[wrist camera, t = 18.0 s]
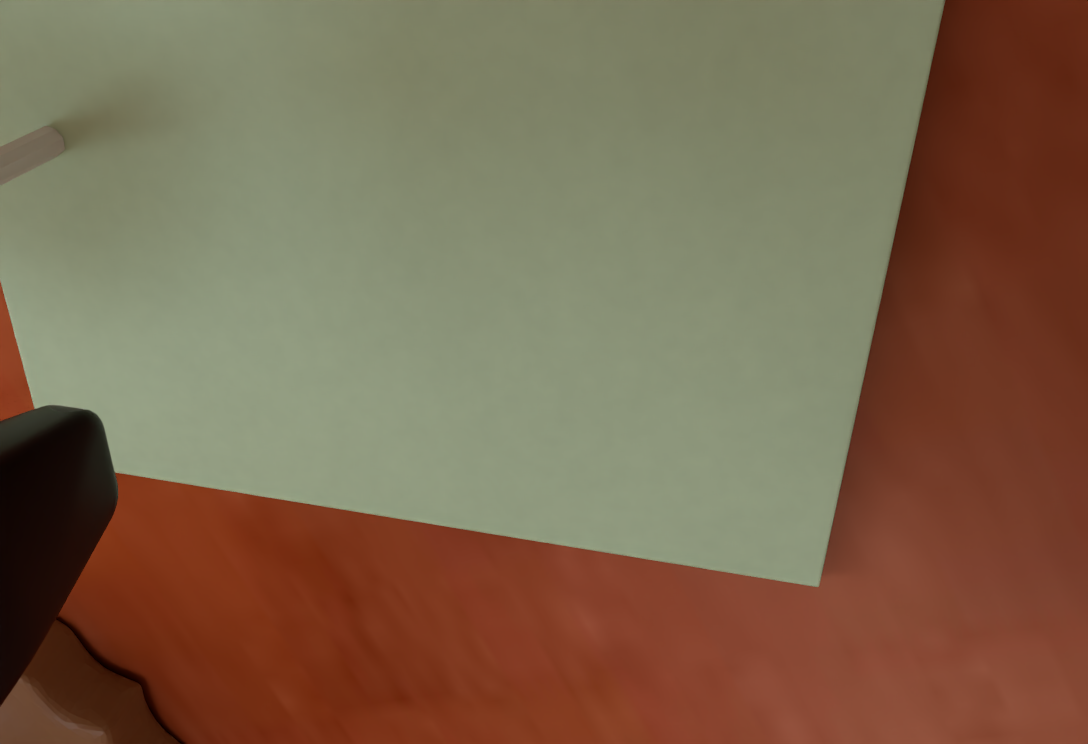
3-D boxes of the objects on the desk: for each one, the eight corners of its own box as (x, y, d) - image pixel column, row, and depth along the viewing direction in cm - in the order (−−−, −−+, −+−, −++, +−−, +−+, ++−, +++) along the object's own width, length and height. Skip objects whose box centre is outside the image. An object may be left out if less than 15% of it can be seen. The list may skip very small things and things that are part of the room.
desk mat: (1018, -358, 15) (1023, -361, 15) (818, 576, 24) (819, 587, 24) (-159, -369, 18) (-176, -372, 18) (57, 453, 28) (48, 462, 27)
